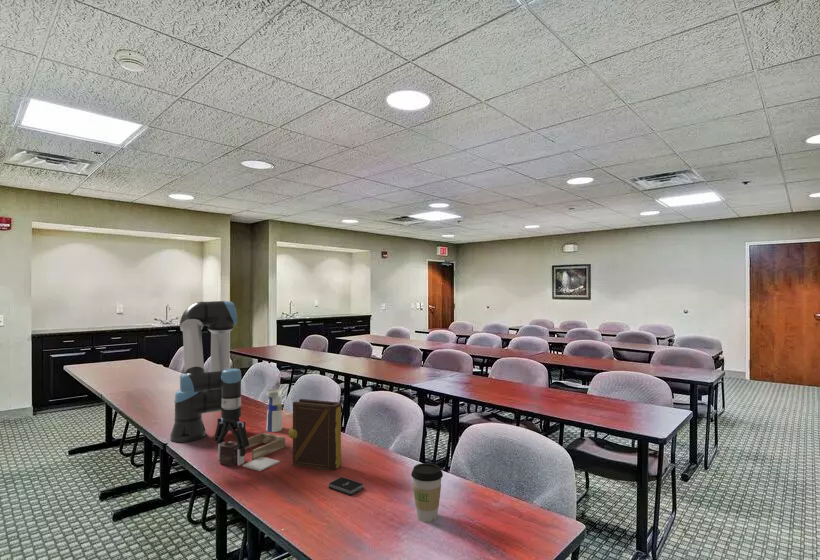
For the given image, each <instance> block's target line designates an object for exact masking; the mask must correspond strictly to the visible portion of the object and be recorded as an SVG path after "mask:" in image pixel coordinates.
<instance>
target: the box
mask: <svg viewBox="0 0 820 560" xmlns="http://www.w3.org/2000/svg"><path fill="white" fill-rule="evenodd" d="M238 448H239V446H238V444H237V441H227V442H225V444H223V445H222V446H220V460H219V463H220V465H228V466H235V465H236V464H237V462H238Z"/></svg>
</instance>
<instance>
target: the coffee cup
mask: <svg viewBox="0 0 820 560" xmlns="http://www.w3.org/2000/svg"><path fill="white" fill-rule="evenodd" d="M443 476H444V474H443V471H442V469H441V466H440V465H438V464H435V463H433V462H432V463H430V462H423V463H418V464H415V466H413V468H412V470H411V477H412V487H413V494H414V505H415V509H416V515H417V516H416V517H417V520H419V521H420V522H423V523H432V522H434V521H436V520H437V519H438V511H439V506H440V499H441V490H442V478H443Z"/></svg>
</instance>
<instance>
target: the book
mask: <svg viewBox="0 0 820 560" xmlns="http://www.w3.org/2000/svg"><path fill="white" fill-rule="evenodd" d="M341 422H342V403H341V402H339V401H328V400H319V399H309V398H308V399H307V398H299V400H298V401H293V402H292V426H291V427H290V428H289V430H288V437H289V438H291V439H292V465H293V466H297V467H304V468H309V469H316V470H323V471H324V470H325V471H328V472H329V471H330V472H335V471H338V470H339V469H340V468H341V467H342V428H341V427H342V423H341Z"/></svg>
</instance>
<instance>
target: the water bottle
mask: <svg viewBox="0 0 820 560" xmlns="http://www.w3.org/2000/svg"><path fill="white" fill-rule="evenodd" d="M274 385H276V386H275V387H276V388H273V389H267V391H266V394H265V395H266V397H268V400H267V404H266V405H267V412H266V432H269V433H276V432H280V431H282V430H283V412H282V410H283V404H282V400H281V396H283V394H284V393H283V392H284V391H283V389H281V388H279V387H281V386H280V385H281V382H280V381H279V380H278V381H276V383H274Z"/></svg>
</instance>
